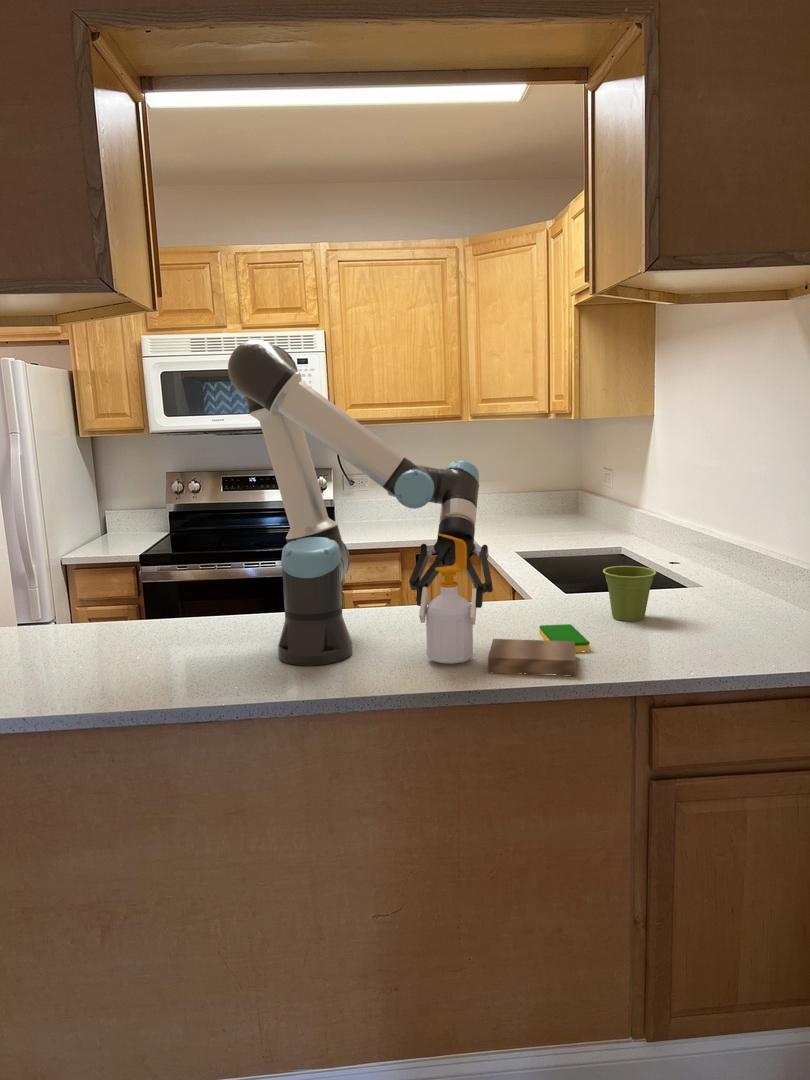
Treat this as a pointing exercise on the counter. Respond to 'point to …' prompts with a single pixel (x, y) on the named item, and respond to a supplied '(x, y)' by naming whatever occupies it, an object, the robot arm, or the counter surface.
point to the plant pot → (629, 591)
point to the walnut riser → (532, 657)
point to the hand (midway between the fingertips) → (447, 620)
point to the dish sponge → (564, 635)
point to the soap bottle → (450, 615)
